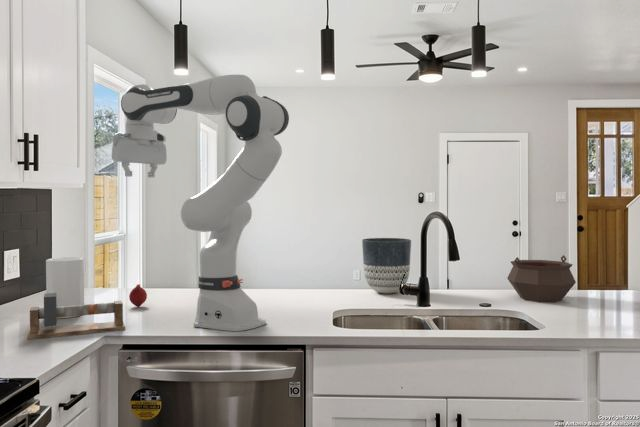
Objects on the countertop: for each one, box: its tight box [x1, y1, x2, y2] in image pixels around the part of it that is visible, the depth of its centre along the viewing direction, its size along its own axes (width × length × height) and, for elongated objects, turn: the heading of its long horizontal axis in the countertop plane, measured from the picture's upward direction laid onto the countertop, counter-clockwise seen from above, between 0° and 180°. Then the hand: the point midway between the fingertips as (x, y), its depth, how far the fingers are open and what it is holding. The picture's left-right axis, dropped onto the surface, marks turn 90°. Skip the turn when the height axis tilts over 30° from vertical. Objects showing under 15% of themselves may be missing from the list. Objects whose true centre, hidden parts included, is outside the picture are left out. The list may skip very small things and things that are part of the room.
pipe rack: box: [27, 300, 126, 340], centre depth 157 cm, size 25×8×8 cm, turn 115°
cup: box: [45, 256, 85, 320], centre depth 179 cm, size 11×11×18 cm
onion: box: [128, 283, 148, 308], centre depth 192 cm, size 6×6×8 cm
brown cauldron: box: [506, 254, 577, 303], centre depth 205 cm, size 24×24×16 cm
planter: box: [361, 237, 412, 295], centre depth 219 cm, size 20×20×21 cm
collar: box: [43, 293, 58, 328], centre depth 154 cm, size 3×6×8 cm, turn 24°
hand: (140, 177), depth 181 cm, fingers open, 8 cm apart
